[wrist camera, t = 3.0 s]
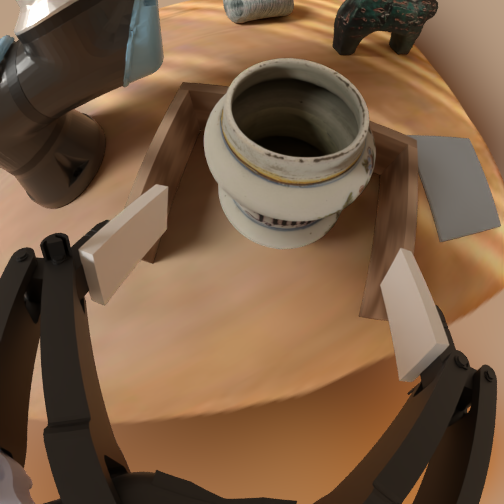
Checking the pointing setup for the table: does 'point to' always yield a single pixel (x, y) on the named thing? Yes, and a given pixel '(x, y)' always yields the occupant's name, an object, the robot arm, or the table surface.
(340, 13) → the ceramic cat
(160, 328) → the table surface
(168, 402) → the table surface
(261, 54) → the table surface
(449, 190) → the rubber mat
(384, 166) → the walnut u-shaped frame
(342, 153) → the apothecary jar
